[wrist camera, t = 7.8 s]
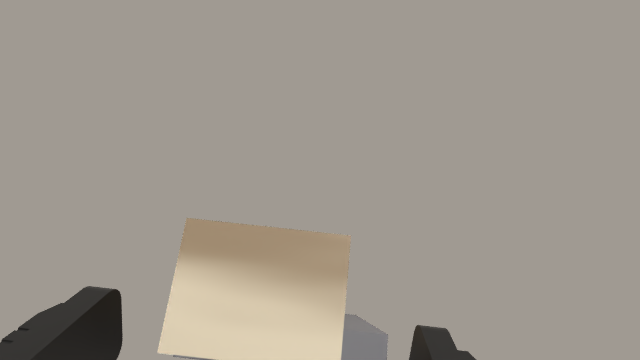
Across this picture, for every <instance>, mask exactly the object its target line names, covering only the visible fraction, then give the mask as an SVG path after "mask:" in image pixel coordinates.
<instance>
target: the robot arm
mask: <svg viewBox="0 0 640 360" xmlns="http://www.w3.org/2000/svg"><path fill="white" fill-rule="evenodd" d="M121 346H122V309H121V294H120V292H119V291H118V290H116V289H109V288H100V287H91V286H88V287H86V288H83V289H82V290H81V291H79V292H78V293H77V294H75V295H74V296H73V297H71V298H70V299H69V300H67V301H66V302H65V303H60V304H58V305H56V306H54V307H52V308H49V309H47V310H45V311H43V312H40V313H38V314H37V315H35V316H34V317H32V318H31V319H30V320H28V321H27V322H25V323H24V324H23V325H21V326H20V327H19V328H18V330H17V331H13V332H12V333H10V334H9V335H8V336H6V337H5V338H3V339H2V342H1V343H0V360H116V359H117V357H118V355H119V353H120V350H121ZM409 360H476V359H475V358H474V357H473V356H472V355H471V354H470V353H469V352H467V351H459V350H457V349H456V346H455V344H454V342H453V340H452V338H451V336H450V333H449V332H448V330H447V329H446V328H437V327H429V326H421V325H417V326H416V328H415V331H414V336H413V341H412V347H411V352H410V358H409Z"/></svg>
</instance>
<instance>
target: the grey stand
mask: <svg viewBox="0 0 640 360" xmlns="http://www.w3.org/2000/svg"><path fill="white" fill-rule="evenodd" d="M387 341H388V334H386V333H384V332H383V331H381V330H379V329H378V328H376V327H375V326H373V325H371V324H370V323H368V322H366V321H365V320H363V319H361V318H360V317H358V316H356V315H350V314H345V315H344V328H343V340H342V353H341V360H387ZM173 356H174V357H181V358H190V359H199V360H215V359H206V358H197V357H189V356H180V355H173Z"/></svg>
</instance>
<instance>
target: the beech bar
mask: <svg viewBox="0 0 640 360" xmlns="http://www.w3.org/2000/svg"><path fill="white" fill-rule="evenodd" d="M350 239H351V236H349V235H340V234H331V233H321V232H312V231H302V230H294V229H284V228H275V227H266V226H257V225H256V226H255V225H247V224H238V223H228V222H219V221H209V220H200V219H191V218H187V219H186V223H185V228H184V233H183V237H182V242H181V246H180V251H179V256H178V260H177V265H176V269H175V274H174V279H173V283H172V288H171V292H170V297H169V302H168V306H167V311H166V315H165V320H164V325H163V329H162V334H161V339H160V344H159V348H158V353H163V354H172V355H180V356H189V357H197V358H206V359H215V360H341V353H342V340H343V328H344V315H345V303H346V290H347V278H348V265H349V253H350Z"/></svg>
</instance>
